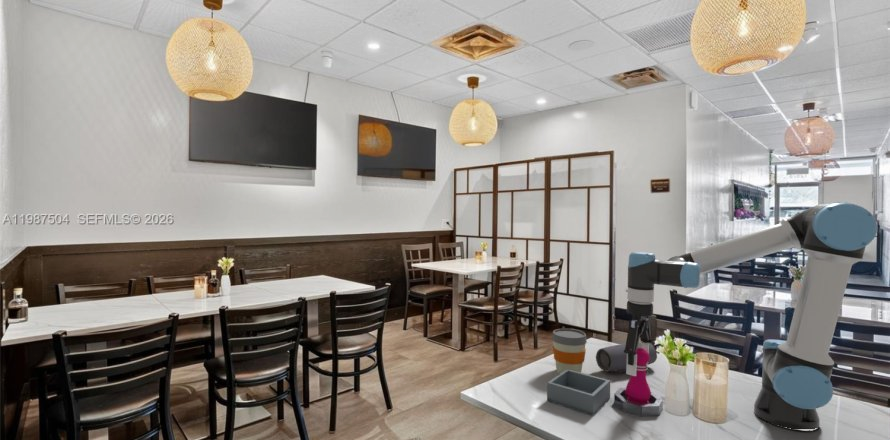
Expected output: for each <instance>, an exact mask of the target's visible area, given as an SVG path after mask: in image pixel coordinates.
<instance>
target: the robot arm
mask: <svg viewBox="0 0 890 440" xmlns="http://www.w3.org/2000/svg"><path fill="white" fill-rule="evenodd" d="M877 233H878V222H877V220H876V217H875V216H874V215H873V214H872V213H871V211H869V210H868V209H867V208H865V207H864V206H861V205H858V204H855V203H851V202H847V201H845V202H840V201H837V202H827V203H826V202H825V203H820V204H816V205H814V206H812V207H810V208H808V209H805V210H803V211H801V212H798V213H796V214H793V215H790V216H787V217H784V218H782V219H781V221H780V223H778V224H774V225H771V226H768V227H765V228H763V229H759V230H756V231H753V232H749V233H746V234H743V235H740V236H737V237H733V238H730V239H728V240H725V241H721V242H718V243H716V244H712V245H708V246H706V247H703V248H700V249H695V250H694V251H691V252H687V253H684V254H681V255H675V256H671V257H670V258H669V259H667V260H661V259H656V255H655V253H654V252H653V253H652V252H645V251H634V252H633V251H632V252H631V253H630V254H629V255H628V264H627V288H626V289H625V292H626V295H627V301H626V313H627V314H629V315H632V319H629V320H628V329H627V333H626V334H627V335H626V342H625V344H626V346H625V350H624V353H627V365H626V372H625V374H626V375H629V376H631V375H632V376H636V370H637V354H636V351H637V347H638V342H640V344H642V348H643V349H645V350H646V351H647V352H648V353H649V343H651V344H653V340H652V336H651V335H652V334H651V325H650V324H651V323H650V317H652V316H653V315H654V303H653V302H655V301H654V299H655V297H654V296H655V295H654V294H655V285H660V286H669V287H680V288H684V289H687V288H688V289H689V288H692V289H697V288H698V287H699V286H700V279H701V278H700V277H701V275H703V274H706V273H710V272H713V271H716V270H720V269H724V268H727V267H730V266H734V265H736V264H741V263H744V262H748V261H751V260H754V259H759V258H761V257H764V256H768V255H770V254H776V253H778V252H782V251H785V250H789V249H791V248H793V249H797V250H801V249H802V251H803V252H804V253H805V254H806V255H807V261H806V264H805V267H804V272H803V275H802V279H801V283H800V288H799V292H798V295H797V299H796V303H795V307H794V310H793V314H792V315H793V316H792V318H791V323H790V326H789V331H788V335H787V338H786V340H782V339H765V340H764V341H763V345H762V348H761V350H762V366H761V367H762V372H761V373H762V375H761V378H762V379H761V389H760V391H759V392H758V395H757V397H756V399H755V401H754V404H753V413H754V414H755V415H756V416H757V415H758V416H759V417H761V418H762V419H761V418H760V419H761V420H763V419H764V420H766V421H768V422H767V423H769V422H770V423H769V424H771V423H773V424H775V425H774V426H776V425H779V426H782V427H787V428H791V429H815V428H818V427H819V428H820V421H821V420H820V417H819V413H818V411H817V409H819V408H823V407H824V406H826V405H827V404H829V403H830V402H831V400H832V398H833V395H834V388H833V384H832V381H831V376H832V373H833V370H834V369H833V368H834V366H835V361H834V360H833V359H832V357H831V356H830V354H829V353H830V349H831V345H832V341H833V338H834V333H835V330H836V327H837V322H838V319H839V314H840V311H841V308H842V304H843V299H844V295H845V292H846V289H847V286H848V282H849V278H850V273H851V270H852V266H853V265H854V264H857V263H858V262H860V261H862V260H863V259H864V258H863V257H864V255H865V250H866V248H867V246H868V245H869V244H871V243H872V241H873V240H874V239H875V238H876V235H877ZM630 349H632V350H630ZM647 364H648V363H647ZM758 416H757V417H758ZM759 417H758V418H759ZM764 420H763V421H764ZM766 421H765V422H766ZM773 424H772V425H773ZM779 426H778V427H779ZM782 427H781V428H782Z"/></svg>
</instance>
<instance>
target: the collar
mask: <svg viewBox="0 0 890 440" xmlns="http://www.w3.org/2000/svg"><path fill="white" fill-rule="evenodd" d="M613 394H614V396H613V399H614V400H613V402H614V404H615V405H616V406H617V407H618V408H619V409H620V410H621V411H622V412H625V413H628V414H631V415H635V416H638V417H656V416H657V417H658V416H660V414H661V412H663V407H664V406H663V405H664V403H663V402H664V399H663V398H661V397H660V396H659V395H657V394H656V393H655V392H653V391H651V397H650V399H649V400H648V401H649V404H638V403H635V402H631V401H628V400H627V398H628V395H627V394H626V387H620V388H618V389H617V390H616V391H615V392H614V393H613Z"/></svg>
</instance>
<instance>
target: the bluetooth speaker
mask: <svg viewBox="0 0 890 440" xmlns="http://www.w3.org/2000/svg"><path fill="white" fill-rule="evenodd" d="M640 342H641V341H639V342H638V343H640ZM625 346H626V343H621V344H615V345H611V346H605V347H601V348H599V349H597V351H596V354H595V361H596V365H597V366H598V368H599V369H600V370H602V371H603V372H616V373H620V374H621V373H626V365H627V353H624V350H625ZM630 350H631V349H630ZM649 357H650V359H649V362H648V364H647V365H648V366H649V365H651V364H654V363H656V361H657V359H658V354H657V350H656V348H655V347H654V345H653V343H649Z"/></svg>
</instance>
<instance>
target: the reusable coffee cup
mask: <svg viewBox="0 0 890 440" xmlns="http://www.w3.org/2000/svg"><path fill="white" fill-rule="evenodd" d="M551 340H552V341H553V345H552V352H553V359H554V360H555V361H554V362H555V368H556V373H557V375H559V374H560V373H562V372H563V371H565V370H566V369H568V370H572V371H576V372H580V373H582V369H583V363H585V358H586V350H587V349H586V344H587V333H585V332H584V331H581V330H579V329H573V328H557V329H554V330H552V338H551Z"/></svg>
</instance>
